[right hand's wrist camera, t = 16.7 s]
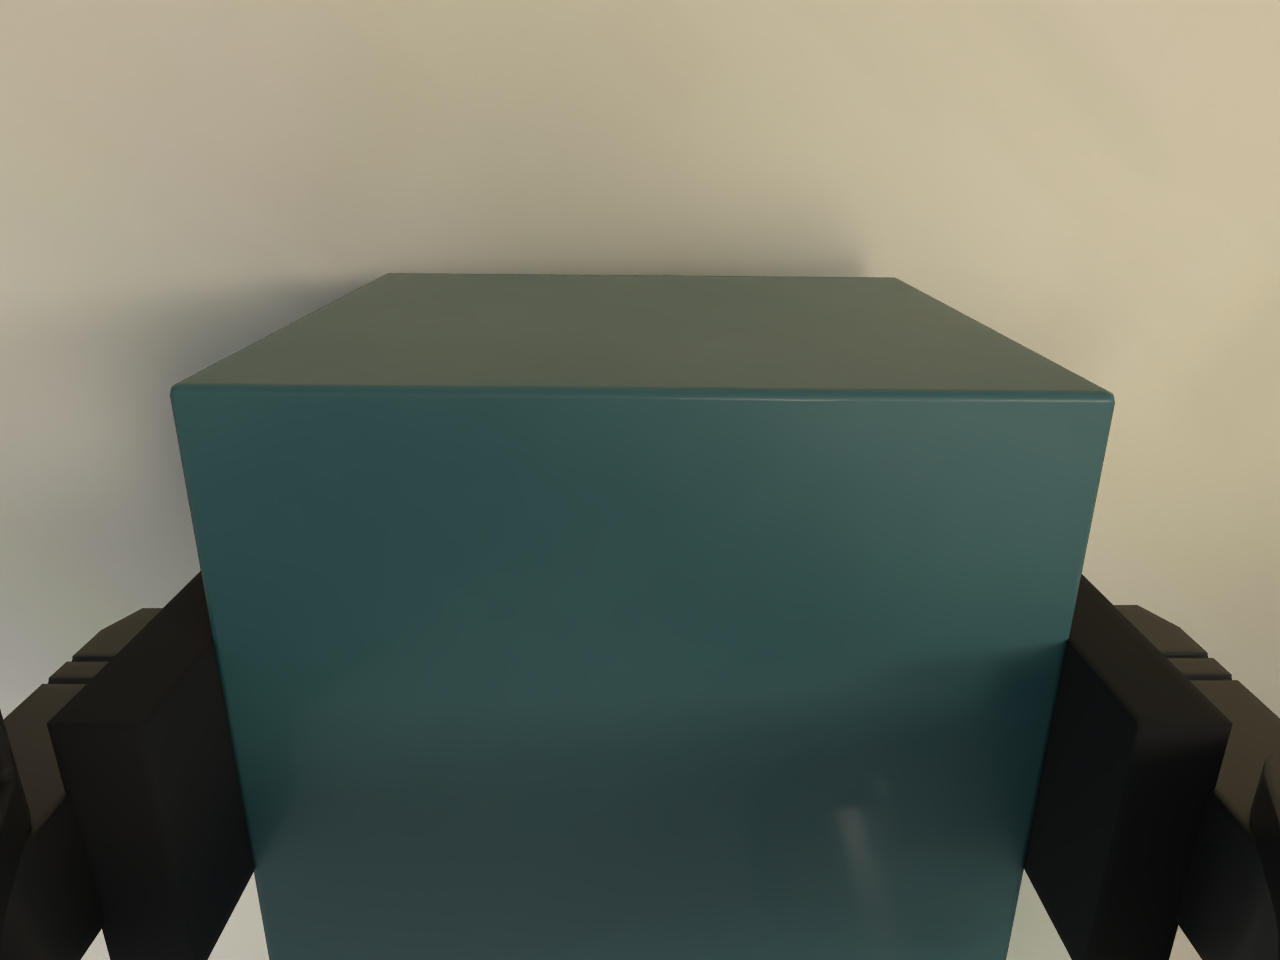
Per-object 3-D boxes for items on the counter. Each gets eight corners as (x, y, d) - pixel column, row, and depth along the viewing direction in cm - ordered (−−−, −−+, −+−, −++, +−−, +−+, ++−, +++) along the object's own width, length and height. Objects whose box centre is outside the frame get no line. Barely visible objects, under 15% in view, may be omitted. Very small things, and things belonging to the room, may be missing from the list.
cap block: (384, 272, 14) (162, 385, 8) (898, 276, 14) (1120, 392, 8) (418, 663, 17) (273, 1005, 10) (857, 667, 17) (1000, 1008, 10)
